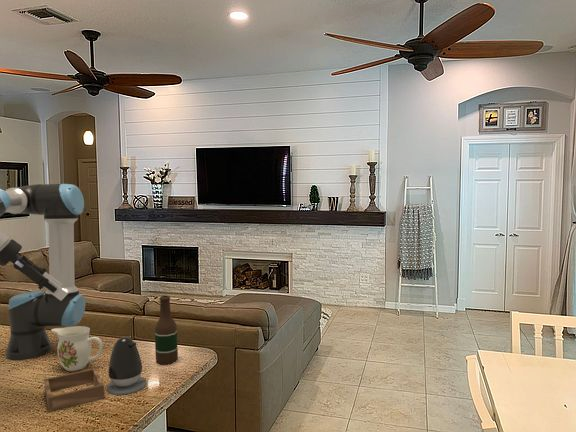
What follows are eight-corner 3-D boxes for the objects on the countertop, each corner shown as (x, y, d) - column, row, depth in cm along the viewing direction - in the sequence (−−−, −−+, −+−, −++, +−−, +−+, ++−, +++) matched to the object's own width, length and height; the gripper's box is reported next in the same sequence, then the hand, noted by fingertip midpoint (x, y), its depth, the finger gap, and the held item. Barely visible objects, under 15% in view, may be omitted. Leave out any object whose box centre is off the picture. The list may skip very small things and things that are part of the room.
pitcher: (96, 374, 155) (94, 334, 154) (44, 373, 156) (42, 334, 155) (110, 361, 166) (108, 324, 165) (61, 361, 167) (59, 324, 166)
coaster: (103, 383, 148) (103, 381, 148) (141, 375, 154) (141, 372, 154) (110, 398, 137) (110, 396, 137) (150, 388, 144) (150, 386, 144)
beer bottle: (182, 358, 168) (180, 294, 166) (168, 366, 160) (166, 300, 159) (165, 355, 171) (163, 292, 169) (151, 363, 164) (148, 297, 162)
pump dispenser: (123, 393, 139) (121, 345, 138) (102, 385, 144) (99, 339, 143) (149, 381, 147) (148, 335, 146) (128, 374, 153) (127, 329, 152)
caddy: (44, 391, 143) (44, 379, 142) (96, 379, 151) (95, 368, 150) (48, 411, 130) (48, 398, 130) (104, 397, 138) (104, 385, 138)
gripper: (-9, 252, 140) (49, 293, 149) (-11, 264, 119) (56, 311, 128) (10, 234, 142) (66, 275, 151) (12, 243, 121) (76, 290, 130)
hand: (62, 292), depth 140 cm, fingers open, 13 cm apart
